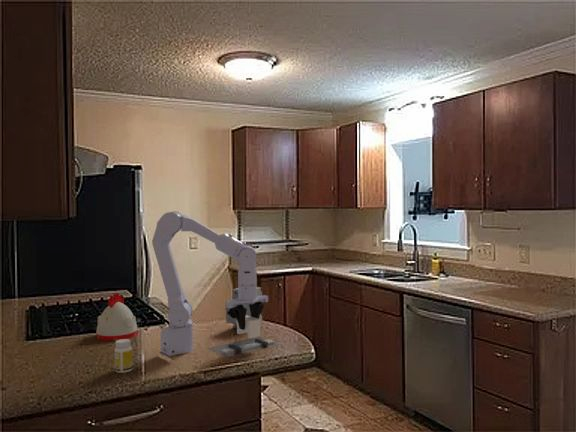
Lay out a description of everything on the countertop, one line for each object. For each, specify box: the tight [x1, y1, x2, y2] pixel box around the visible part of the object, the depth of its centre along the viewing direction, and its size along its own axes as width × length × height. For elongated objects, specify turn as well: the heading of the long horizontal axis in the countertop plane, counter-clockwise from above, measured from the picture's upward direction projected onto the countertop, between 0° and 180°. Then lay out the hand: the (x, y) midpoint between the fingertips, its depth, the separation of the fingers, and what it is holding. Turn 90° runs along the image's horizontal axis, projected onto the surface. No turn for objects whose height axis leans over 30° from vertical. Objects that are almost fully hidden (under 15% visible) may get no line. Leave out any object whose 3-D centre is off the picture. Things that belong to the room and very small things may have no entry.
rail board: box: [206, 336, 281, 358], centre depth 166 cm, size 20×12×2 cm, turn 129°
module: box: [236, 315, 261, 339], centre depth 164 cm, size 4×7×5 cm, turn 39°
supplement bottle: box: [114, 338, 134, 374], centre depth 147 cm, size 5×5×8 cm
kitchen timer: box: [95, 292, 139, 341], centre depth 185 cm, size 14×14×15 cm
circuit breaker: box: [224, 286, 263, 329], centre depth 189 cm, size 8×14×15 cm, turn 152°
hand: (248, 327), depth 164 cm, fingers closed on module, 4 cm apart
